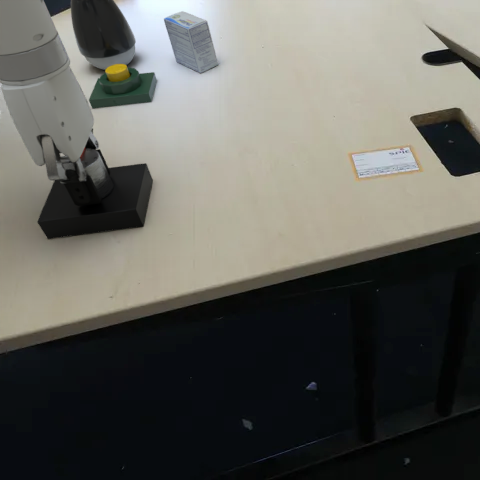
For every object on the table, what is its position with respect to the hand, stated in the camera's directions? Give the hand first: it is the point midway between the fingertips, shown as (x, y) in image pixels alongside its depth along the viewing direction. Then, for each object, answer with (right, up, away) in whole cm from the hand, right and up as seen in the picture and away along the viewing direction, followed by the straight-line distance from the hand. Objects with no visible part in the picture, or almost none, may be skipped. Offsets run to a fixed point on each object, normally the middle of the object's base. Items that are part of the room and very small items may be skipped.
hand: (93, 188), depth 70 cm
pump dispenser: (-13, +27, +34) cm, 46 cm away
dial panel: (0, -2, +2) cm, 3 cm away
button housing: (-7, +19, +25) cm, 32 cm away
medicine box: (+4, +27, +33) cm, 42 cm away
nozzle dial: (0, 0, 0) cm, 0 cm away
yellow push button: (-7, +21, +23) cm, 32 cm away
